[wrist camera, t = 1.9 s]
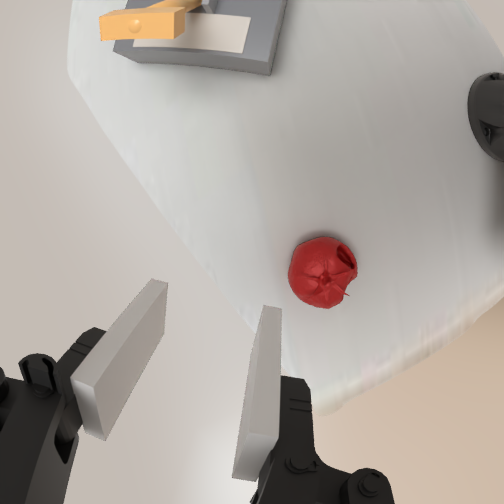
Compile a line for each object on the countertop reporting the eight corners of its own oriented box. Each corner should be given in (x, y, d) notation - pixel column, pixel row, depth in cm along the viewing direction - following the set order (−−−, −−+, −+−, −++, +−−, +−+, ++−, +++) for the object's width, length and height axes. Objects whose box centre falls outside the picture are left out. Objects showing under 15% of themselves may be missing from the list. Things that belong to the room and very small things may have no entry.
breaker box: (288, -5, 33) (289, -42, 23) (269, 76, 38) (266, 54, 27) (159, -13, 33) (131, -43, 23) (137, 62, 38) (100, 45, 28)
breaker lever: (226, -10, 26) (173, 13, 18) (224, 7, 28) (172, 39, 19) (170, -11, 26) (97, 17, 18) (170, 5, 28) (99, 41, 20)
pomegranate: (289, 295, 49) (290, 327, 40) (284, 233, 46) (285, 256, 37) (351, 289, 48) (364, 320, 39) (351, 228, 44) (367, 249, 36)
